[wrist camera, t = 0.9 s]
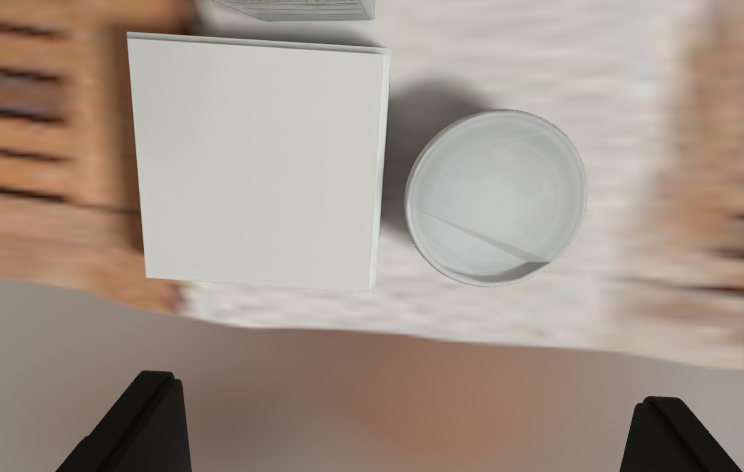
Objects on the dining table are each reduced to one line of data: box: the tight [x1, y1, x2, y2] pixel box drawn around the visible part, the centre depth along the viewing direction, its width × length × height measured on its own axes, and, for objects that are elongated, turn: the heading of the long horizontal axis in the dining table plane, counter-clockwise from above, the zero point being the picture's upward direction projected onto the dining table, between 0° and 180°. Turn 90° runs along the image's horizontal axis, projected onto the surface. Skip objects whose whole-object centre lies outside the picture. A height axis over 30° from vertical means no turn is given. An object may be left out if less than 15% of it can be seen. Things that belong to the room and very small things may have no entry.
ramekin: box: [404, 109, 588, 287], centre depth 34 cm, size 11×11×5 cm
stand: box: [127, 32, 392, 294], centre depth 34 cm, size 16×16×4 cm
